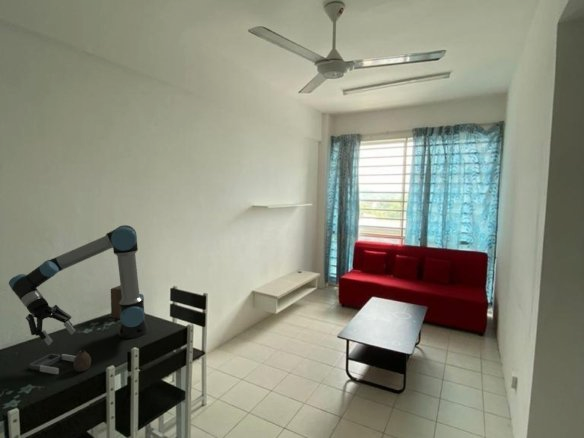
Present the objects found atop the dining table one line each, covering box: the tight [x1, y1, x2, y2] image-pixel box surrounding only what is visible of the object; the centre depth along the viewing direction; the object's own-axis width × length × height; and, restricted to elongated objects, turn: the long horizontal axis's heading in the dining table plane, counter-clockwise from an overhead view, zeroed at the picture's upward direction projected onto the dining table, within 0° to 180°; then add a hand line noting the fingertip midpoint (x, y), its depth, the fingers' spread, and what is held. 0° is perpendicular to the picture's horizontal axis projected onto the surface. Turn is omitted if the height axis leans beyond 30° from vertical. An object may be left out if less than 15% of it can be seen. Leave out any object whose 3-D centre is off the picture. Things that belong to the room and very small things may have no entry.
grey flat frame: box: [27, 353, 63, 372], centre depth 153 cm, size 7×11×2 cm, turn 167°
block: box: [110, 285, 122, 319], centre depth 213 cm, size 10×10×20 cm
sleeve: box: [39, 353, 77, 375], centre depth 151 cm, size 10×12×2 cm
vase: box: [73, 350, 92, 373], centre depth 148 cm, size 7×7×9 cm
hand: (62, 337), depth 149 cm, fingers open, 11 cm apart
